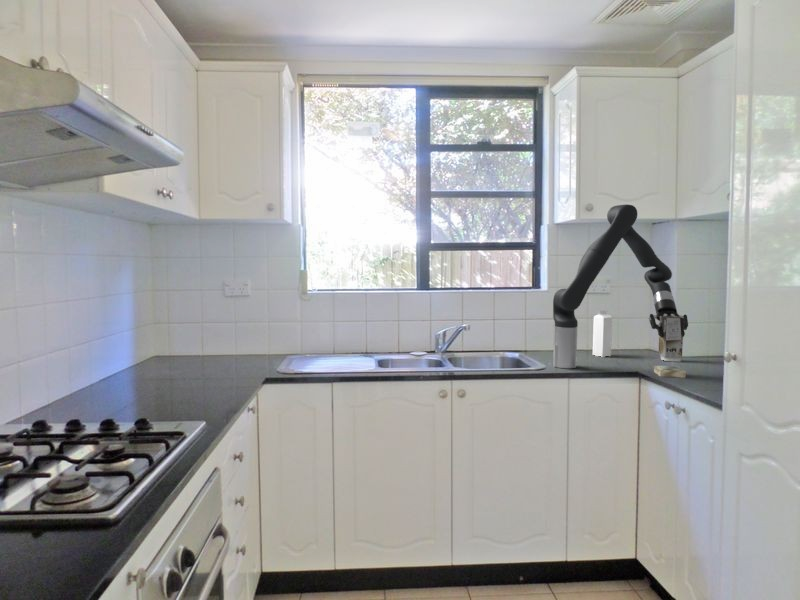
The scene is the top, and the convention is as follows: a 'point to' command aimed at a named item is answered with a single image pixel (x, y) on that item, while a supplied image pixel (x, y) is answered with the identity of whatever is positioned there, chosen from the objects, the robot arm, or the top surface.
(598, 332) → the milk
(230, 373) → the top surface
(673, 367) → the podium
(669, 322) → the coffee box
